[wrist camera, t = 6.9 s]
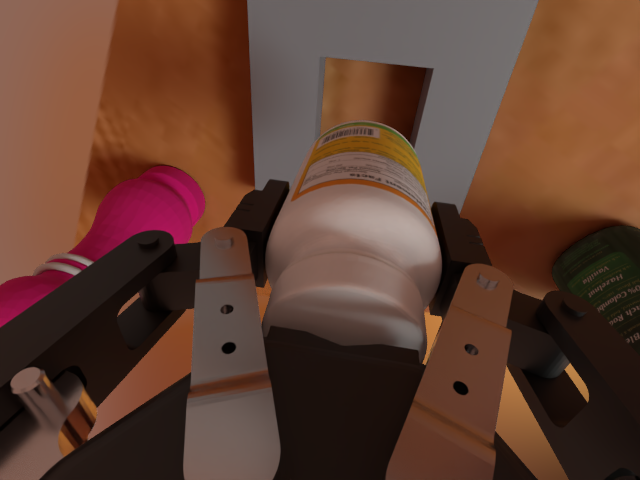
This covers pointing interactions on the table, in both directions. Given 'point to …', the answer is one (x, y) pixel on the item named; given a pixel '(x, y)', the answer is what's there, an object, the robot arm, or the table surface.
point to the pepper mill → (114, 231)
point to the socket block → (392, 48)
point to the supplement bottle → (355, 242)
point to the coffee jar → (606, 277)
